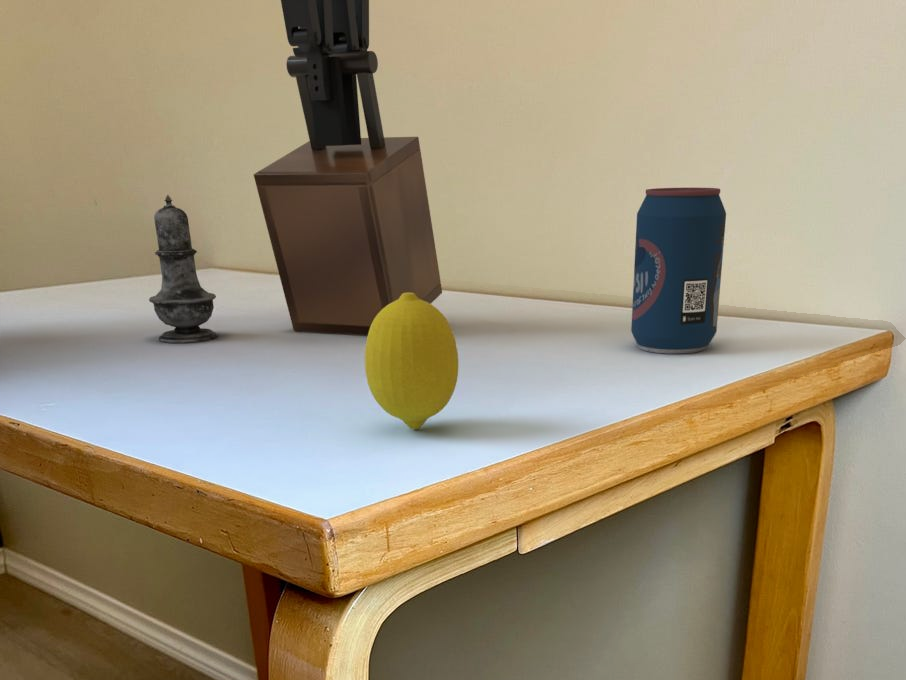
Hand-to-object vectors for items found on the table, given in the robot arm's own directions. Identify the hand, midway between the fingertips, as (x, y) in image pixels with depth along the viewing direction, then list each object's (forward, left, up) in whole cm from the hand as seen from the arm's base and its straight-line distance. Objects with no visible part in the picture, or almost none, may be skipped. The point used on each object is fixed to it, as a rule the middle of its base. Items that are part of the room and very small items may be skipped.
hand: (338, 144), depth 87 cm
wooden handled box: (0, -4, -5) cm, 7 cm away
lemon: (+22, -29, -16) cm, 40 cm away
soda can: (+30, +2, -16) cm, 34 cm away
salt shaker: (-13, -7, -16) cm, 22 cm away
